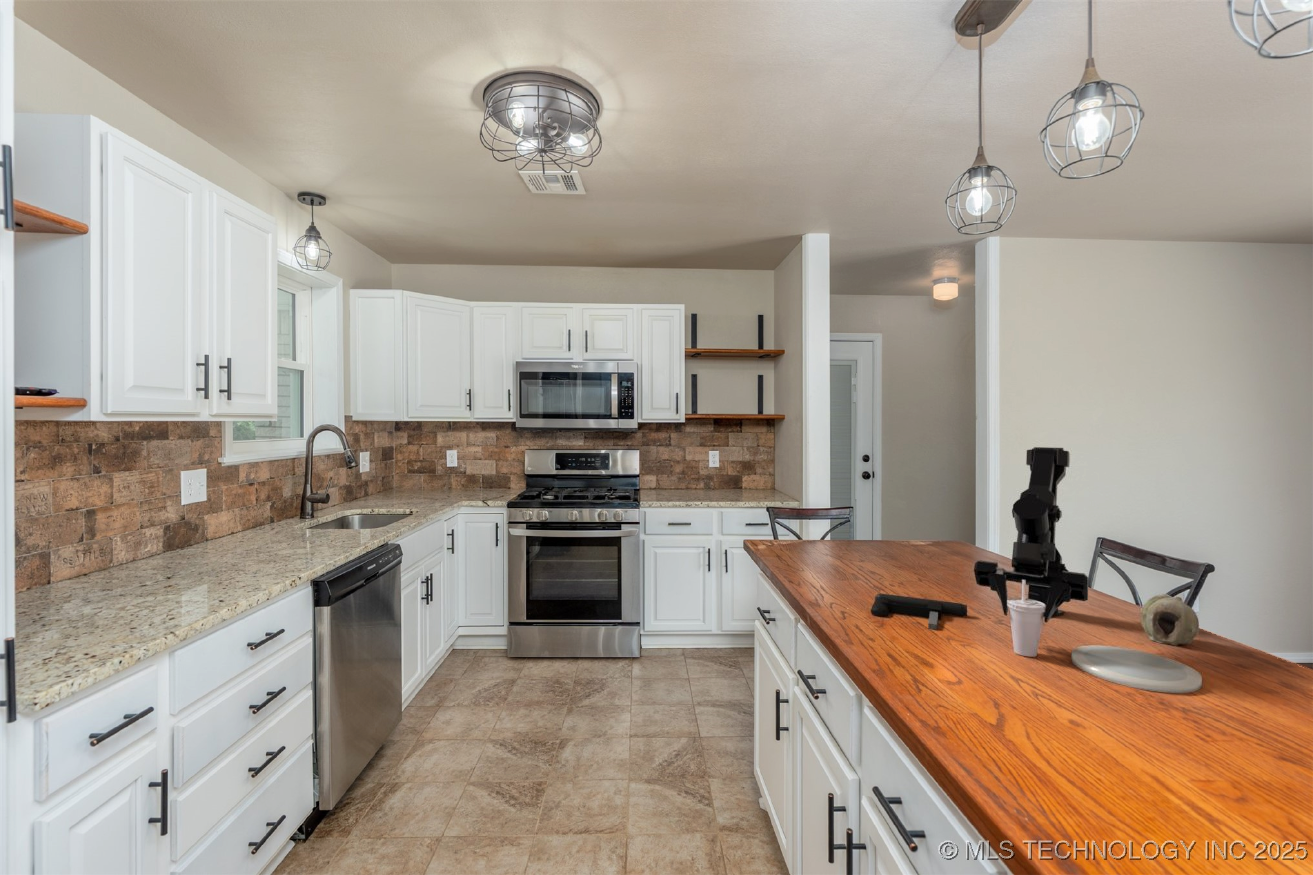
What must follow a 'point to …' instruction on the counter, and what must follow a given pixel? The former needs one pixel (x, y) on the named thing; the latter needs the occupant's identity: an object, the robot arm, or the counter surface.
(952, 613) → the door handle
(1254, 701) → the counter surface
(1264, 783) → the counter surface
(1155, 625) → the olive hollow round lump
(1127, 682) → the plate
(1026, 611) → the smoothie
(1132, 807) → the counter surface
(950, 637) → the counter surface
